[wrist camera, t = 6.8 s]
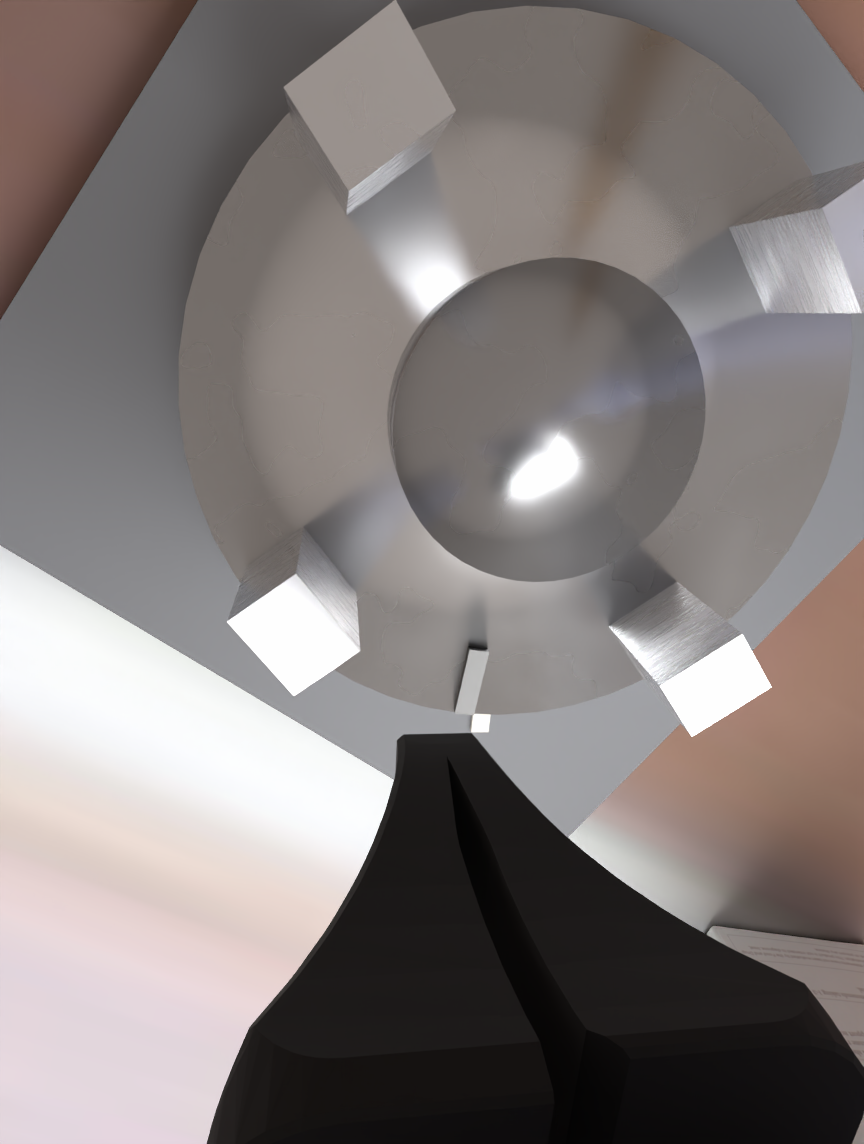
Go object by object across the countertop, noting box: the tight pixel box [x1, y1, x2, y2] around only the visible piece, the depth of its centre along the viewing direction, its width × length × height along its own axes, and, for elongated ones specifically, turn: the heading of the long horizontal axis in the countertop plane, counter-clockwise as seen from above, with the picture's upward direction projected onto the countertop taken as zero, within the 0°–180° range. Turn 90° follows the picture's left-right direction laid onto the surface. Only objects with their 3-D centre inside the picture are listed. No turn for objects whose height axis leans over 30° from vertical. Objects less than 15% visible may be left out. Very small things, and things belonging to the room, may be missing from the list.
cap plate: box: [0, 0, 864, 838], centre depth 17 cm, size 20×20×1 cm
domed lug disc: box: [179, 0, 864, 736], centre depth 15 cm, size 15×15×4 cm
